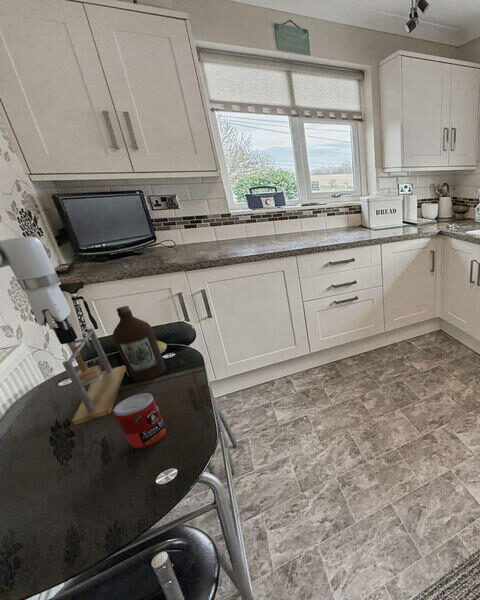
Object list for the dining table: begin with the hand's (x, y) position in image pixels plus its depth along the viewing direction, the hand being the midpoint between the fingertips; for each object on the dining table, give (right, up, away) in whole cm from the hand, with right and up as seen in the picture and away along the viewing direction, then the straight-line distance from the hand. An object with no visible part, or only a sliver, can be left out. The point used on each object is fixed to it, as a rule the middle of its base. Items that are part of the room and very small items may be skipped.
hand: (69, 340), depth 97 cm
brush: (+1, -13, +5) cm, 14 cm away
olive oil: (+11, -14, +17) cm, 24 cm away
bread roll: (+1, -9, +32) cm, 33 cm away
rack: (+3, -18, +8) cm, 20 cm away
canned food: (+34, -23, -14) cm, 44 cm away
